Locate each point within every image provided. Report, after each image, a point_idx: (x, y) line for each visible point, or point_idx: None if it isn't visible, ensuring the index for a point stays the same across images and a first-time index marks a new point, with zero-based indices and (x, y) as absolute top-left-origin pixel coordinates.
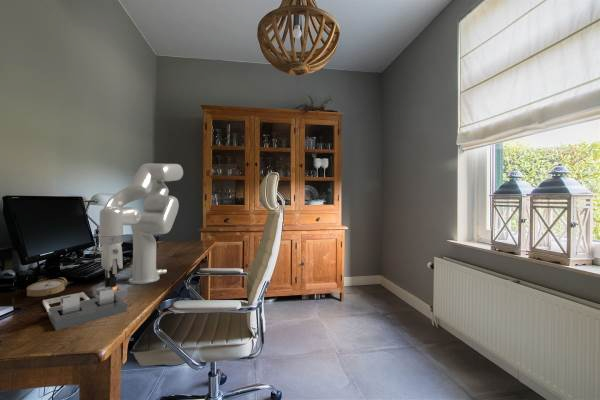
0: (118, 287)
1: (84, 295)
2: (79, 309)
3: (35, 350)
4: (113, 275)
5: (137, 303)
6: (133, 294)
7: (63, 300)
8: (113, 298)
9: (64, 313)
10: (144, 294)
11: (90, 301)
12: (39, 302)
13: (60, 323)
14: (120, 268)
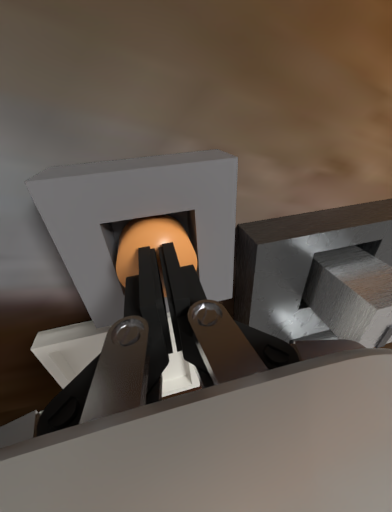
0: (120, 208)
1: (104, 337)
2: (333, 335)
3: None
4: (247, 335)
5: (355, 127)
6: (176, 93)
7: None
8: (382, 262)
9: None
10: (239, 5)
11: (277, 319)
12: None
13: None
14: (346, 364)
